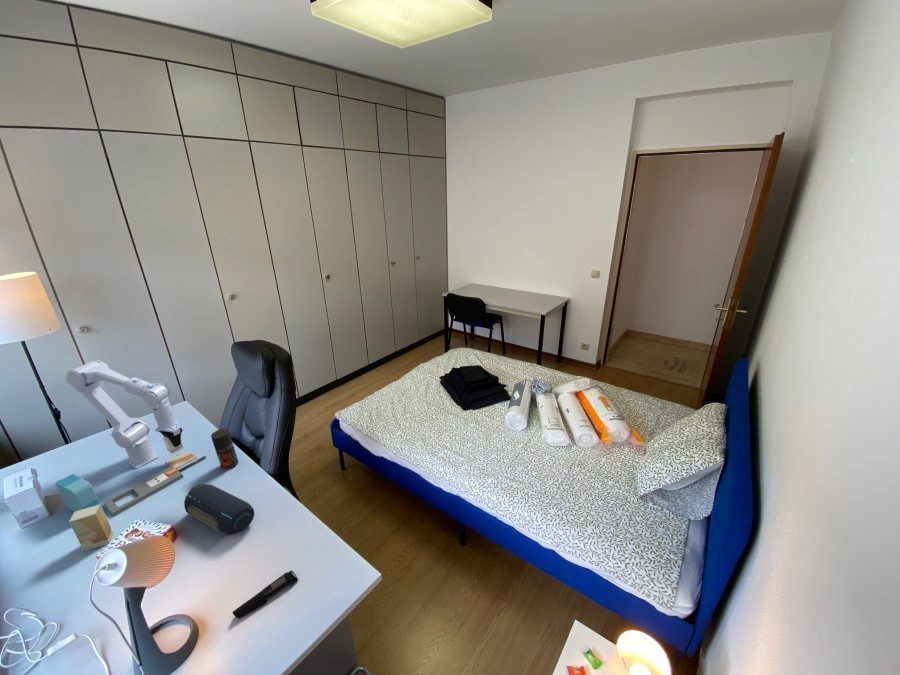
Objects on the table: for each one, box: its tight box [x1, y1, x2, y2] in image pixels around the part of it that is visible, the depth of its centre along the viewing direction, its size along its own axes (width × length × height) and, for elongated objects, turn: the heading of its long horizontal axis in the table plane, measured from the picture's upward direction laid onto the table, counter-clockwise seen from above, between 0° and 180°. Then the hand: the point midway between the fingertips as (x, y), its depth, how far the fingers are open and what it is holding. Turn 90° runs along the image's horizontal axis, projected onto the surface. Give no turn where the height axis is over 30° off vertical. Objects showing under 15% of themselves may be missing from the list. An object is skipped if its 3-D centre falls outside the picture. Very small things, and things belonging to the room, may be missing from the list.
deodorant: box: [210, 428, 239, 471], centre depth 141 cm, size 6×6×15 cm
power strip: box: [103, 455, 207, 517], centre depth 135 cm, size 9×31×2 cm, turn 147°
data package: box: [55, 474, 103, 513], centre depth 122 cm, size 12×4×12 cm, turn 67°
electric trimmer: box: [232, 570, 299, 620], centre depth 95 cm, size 4×16×3 cm, turn 133°
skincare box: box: [68, 504, 114, 552], centre depth 110 cm, size 6×4×12 cm
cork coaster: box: [165, 450, 198, 470], centre depth 146 cm, size 8×8×1 cm
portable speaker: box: [183, 483, 255, 536], centre depth 117 cm, size 25×10×10 cm, turn 64°
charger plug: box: [162, 436, 184, 455], centre depth 143 cm, size 4×4×6 cm
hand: (175, 443), depth 143 cm, fingers closed on charger plug, 4 cm apart
